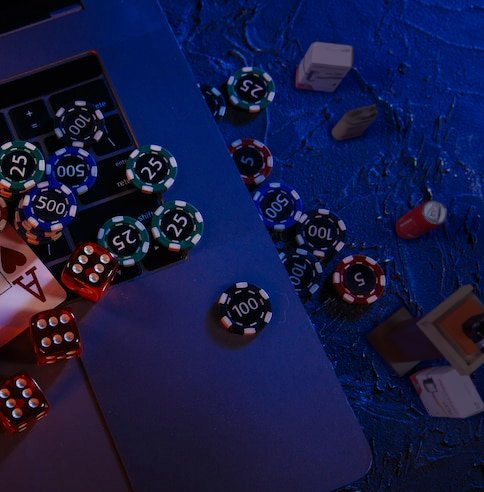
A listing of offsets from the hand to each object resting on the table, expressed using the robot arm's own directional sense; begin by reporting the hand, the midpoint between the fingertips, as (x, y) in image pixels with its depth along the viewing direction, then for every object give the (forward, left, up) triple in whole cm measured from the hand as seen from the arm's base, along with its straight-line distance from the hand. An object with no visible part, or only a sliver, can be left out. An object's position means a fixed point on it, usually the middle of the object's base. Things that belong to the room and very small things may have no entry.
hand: (474, 326), depth 98 cm
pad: (0, 0, -2) cm, 2 cm away
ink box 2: (+2, +11, -26) cm, 28 cm away
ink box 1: (-23, -53, -26) cm, 64 cm away
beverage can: (-16, -16, -26) cm, 35 cm away
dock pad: (+1, 0, -3) cm, 3 cm away
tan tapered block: (-21, -40, -26) cm, 53 cm away
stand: (+1, 0, -26) cm, 26 cm away
